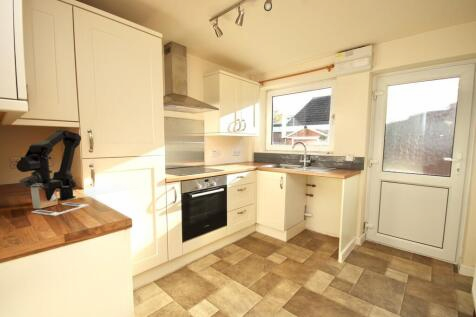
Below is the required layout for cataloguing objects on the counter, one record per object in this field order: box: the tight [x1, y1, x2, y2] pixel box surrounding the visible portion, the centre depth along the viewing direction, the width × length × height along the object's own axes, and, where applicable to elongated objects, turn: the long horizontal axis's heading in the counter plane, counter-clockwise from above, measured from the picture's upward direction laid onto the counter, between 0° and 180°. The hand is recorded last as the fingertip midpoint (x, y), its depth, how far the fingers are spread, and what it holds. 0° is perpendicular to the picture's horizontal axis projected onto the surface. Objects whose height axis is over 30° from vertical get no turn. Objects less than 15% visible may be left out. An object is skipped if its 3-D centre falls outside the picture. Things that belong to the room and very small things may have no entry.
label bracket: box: [30, 202, 90, 217], centre depth 107 cm, size 16×16×1 cm
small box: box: [30, 186, 58, 210], centre depth 110 cm, size 8×6×10 cm
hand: (44, 199), depth 110 cm, fingers open, 6 cm apart
